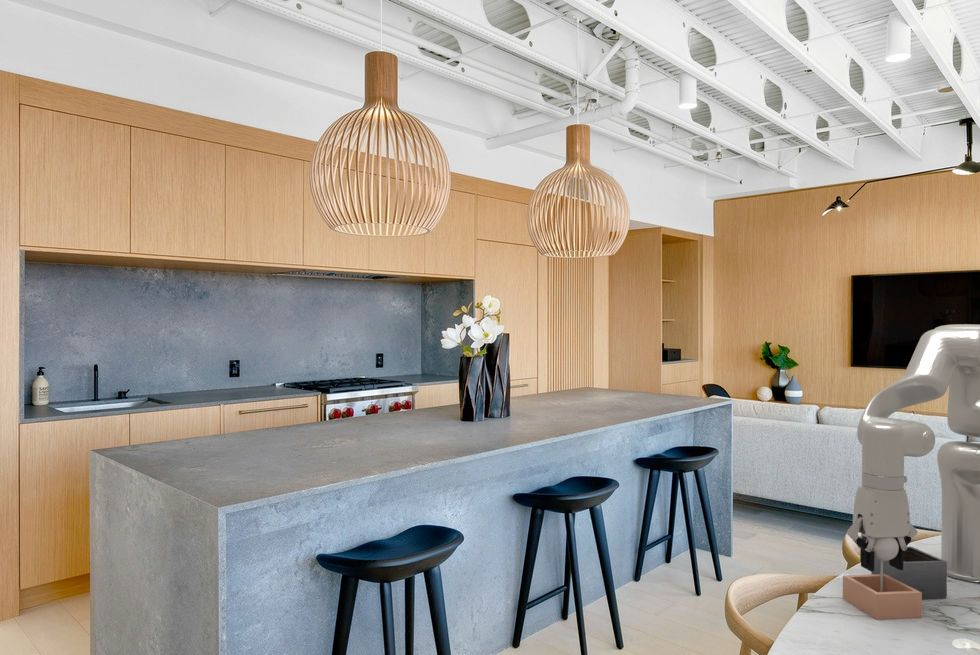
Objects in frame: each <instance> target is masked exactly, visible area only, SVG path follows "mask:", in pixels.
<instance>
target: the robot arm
mask: <svg viewBox="0 0 980 655" xmlns="http://www.w3.org/2000/svg"><path fill="white" fill-rule="evenodd" d="M946 392H948V397H947V400H948V401H947V411H946V412H947V418H946V419H947V425H948V429H950V431H951V432H953V433H954V434H956V435H960V436H965V437H966V436H967V437H971V438H978V439H979V438H980V324H971V323H970V324H967V323H964V324H961V323H960V324H959V323H958V324H946V325H939V326H937V327H935V328H934V329H930V330H927V331H926V332H924V333H922V335H921V336H920V338H919V341H918V343H917V344H916V346H915V350H914V352H913V354H912V356H911V359H910V361H909V362H908V365H907V367H906V370H905V372H904V375H903V376H902V377H901V378H900V379H898V380H896V381H895V382H892V383H890V384H889V385H887V386H886V387H885V388H883V389H881V390H880V391H878V392H877V393H876V394H874V395H873V397H871V398H870V399H869V401H868V402H867V404H866V406H865V408H864V410H863V413H862V415H861V417H860V419H859V422H858V425H857V432H856V434H857V440H858V443H859V444H860V445H861V486H860V485H858V486H857V489H856V493H855V496H854V497H855V498H854V503H853V511H852V524H851V525H850V527H849V528H848V529H847V531H846V535H847V536H848V537H849V538H850V539H851V540H853V542H854V543H855V544H856V545H857V547H858V548H859V549H860V551H859V552H860V553H859V554H860V557H859V558H860V560H859V561H860V566H861V567H862V568H864V569H865V570H867V571H869V572H871V571H874V552H872V551H871V550H872V548H873V545H874V542H875V539H876V538H895V539H896V541H897V543H898V546H899V550H898V553H897V555H896V556H895V557H894V558H893V559H891V560H889V564H890V565H891V566H893V567H895V568H897V569H899V570H903V557H904V551H905V550H906V549H907V547H908V546H909V544H910V543H911V541H912V539H914V538H915V537H916V536H917V534H918V530H917V529H916V528H915V526H913V524H912V523H911V517H910V514H911V512H910V506H909V505H910V504H909V499H908V498H909V497H908V494H907V490H906V489H905V483H907V482H908V477H907V476H905V457H912V458H920V457H925V456H927V455H928V454H930V453H931V452H932V450H933V449H934V447H935V444H936V435H935V432H934V431H933V430H932V428H931V427H930V426H929V425H927V424H925V423H923V422H920V421H914V420H907V419H899V418H898V419H897V418H891V417H890V416H891V415H892V414H894V413H895V412H897V411H900V410H902V409H905V408H908V407H911V406H916V405H920V404H925V403H928V402H931V401H935V400H938V399H940V398H942V397H944V395H945V394H946ZM936 460H937V465H938V466H937V467H938V470H939V471H938V472H939V475H940V476H939V477H940V485H941V528H940V530H941V533H940V534H941V537H940V538H941V542H940V543H941V546H940V550H941V553H940V559H942V560H944V561H946V562H947V577H949V576H950V577H949V578H953V579H956V578H957V579H956V580H960V579H962V580H961V581H965V580H968V581H967V582H970V581H979V582H980V443H979V442H971V441H961V440H956V441H955V440H953V441H948V442H945V443H943V444H942V445H941V446H940V447H939V449H938V451H937V459H936ZM859 533H860V535H859ZM867 538H868V540H867ZM866 540H867V543H866Z"/></svg>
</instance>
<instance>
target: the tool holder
mask: <svg viewBox="0 0 980 655" xmlns="http://www.w3.org/2000/svg"><path fill="white" fill-rule="evenodd" d="M842 600H844V601H846V602H847V603H849V604H851V605H852V606H854V607H855V608H857V609H859V610H860V611H861V612H864V613H865V614H866V615H868V616H870V617H872V618H873V619H874V620H895V619H919V618H922V617H923V614H922V613H923V607H922V606H923V600H922V592H920V591H918V590H916V589H914V588H912V587H910V586H908V585H906V584H904V583H902V582H900V581H898V580H896V579H894V578H892V577H890V576H888V575H886V574H883V592H880V574H873V575H871V574H850V575H848V574H847V575H844V574H843V575H842Z"/></svg>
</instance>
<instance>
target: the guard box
mask: <svg viewBox="0 0 980 655" xmlns="http://www.w3.org/2000/svg"><path fill="white" fill-rule="evenodd" d="M880 565H881V560H878V559H876V558H874V571H870V572H871V574H870V575H873V574H880ZM883 574H886V575H888V576H890V577H892V578H894V579H896V580H898V581H900V582H902V583H904V584H906V585H908V586H910V587H912V588H914V589H916V590H918V591H920V592H922V601H923V600H926V601H927V600H944V599H945V600H946V599H947V598H948V596H947V595H948V593H947V592H948V584H947V582H948V576H947V562H946V561H944V560H942V559H941V558H939V557H937V556H934V555H933V554H930V553H928V552H925V551H924V550H921V549H918V548H915V547H913V546H909V545H907V549H906V550H905V551H904V557H903V570H899V569H897V568H895V567H893V566H891V565H890V564H889V560H887V561H883Z"/></svg>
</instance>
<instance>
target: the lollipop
mask: <svg viewBox="0 0 980 655" xmlns="http://www.w3.org/2000/svg"><path fill="white" fill-rule="evenodd" d="M867 540H868V538H867ZM867 540H866V543H867ZM898 550H899V546H898V543H897V541H896V539H895V538H876V539H875V542H874V545H873V548H872V550H871V551H872V552H874V558H876V559H878V560H881V565H880V592H883V561H887V560H891V559H893V558H894V557H895V556H896V555H897V553H898Z"/></svg>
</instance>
